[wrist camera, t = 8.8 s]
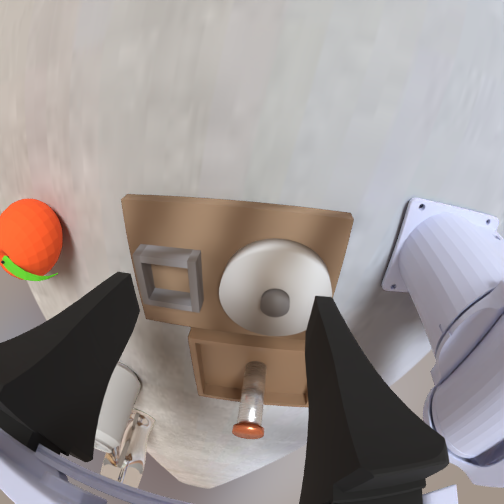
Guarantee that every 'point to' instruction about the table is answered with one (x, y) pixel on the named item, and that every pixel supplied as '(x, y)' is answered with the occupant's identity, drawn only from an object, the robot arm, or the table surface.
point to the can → (116, 408)
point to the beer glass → (129, 451)
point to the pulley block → (233, 262)
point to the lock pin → (251, 402)
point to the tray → (235, 359)
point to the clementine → (29, 239)
